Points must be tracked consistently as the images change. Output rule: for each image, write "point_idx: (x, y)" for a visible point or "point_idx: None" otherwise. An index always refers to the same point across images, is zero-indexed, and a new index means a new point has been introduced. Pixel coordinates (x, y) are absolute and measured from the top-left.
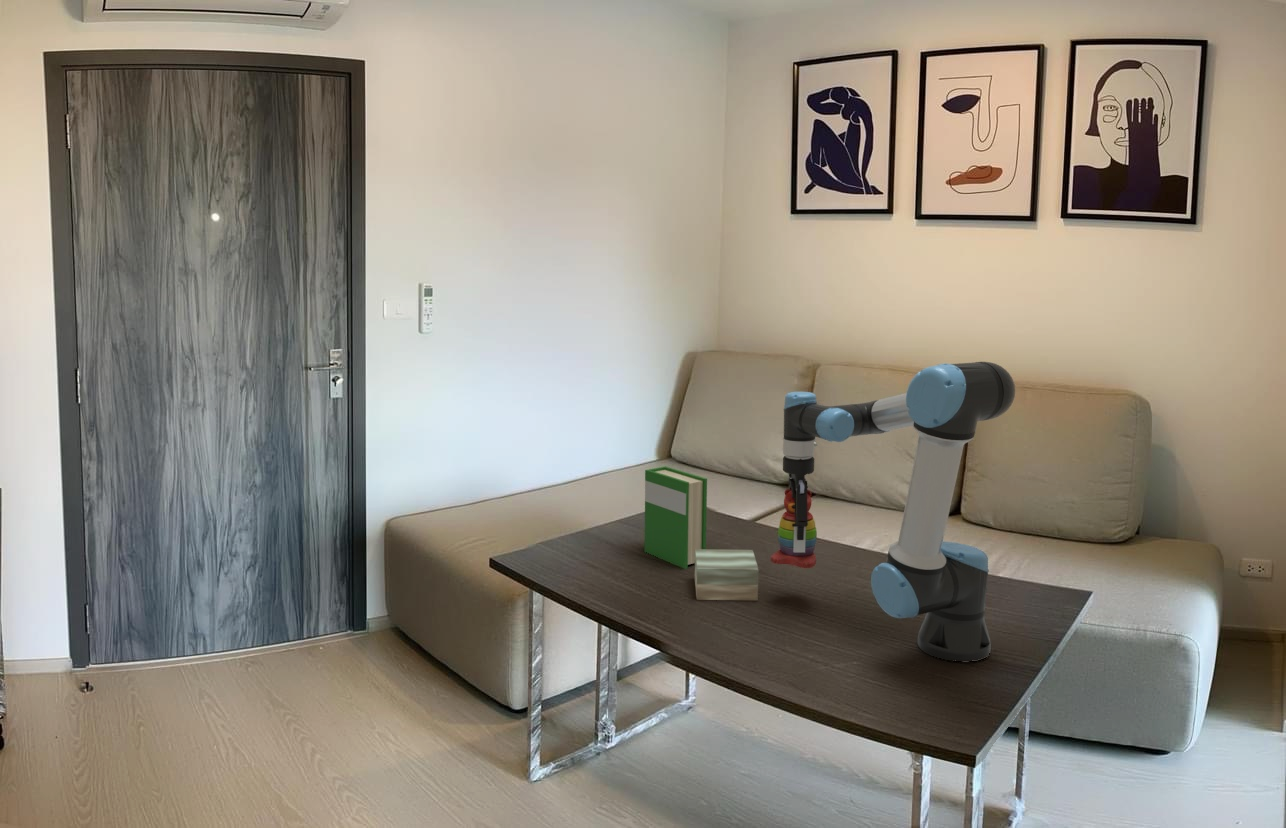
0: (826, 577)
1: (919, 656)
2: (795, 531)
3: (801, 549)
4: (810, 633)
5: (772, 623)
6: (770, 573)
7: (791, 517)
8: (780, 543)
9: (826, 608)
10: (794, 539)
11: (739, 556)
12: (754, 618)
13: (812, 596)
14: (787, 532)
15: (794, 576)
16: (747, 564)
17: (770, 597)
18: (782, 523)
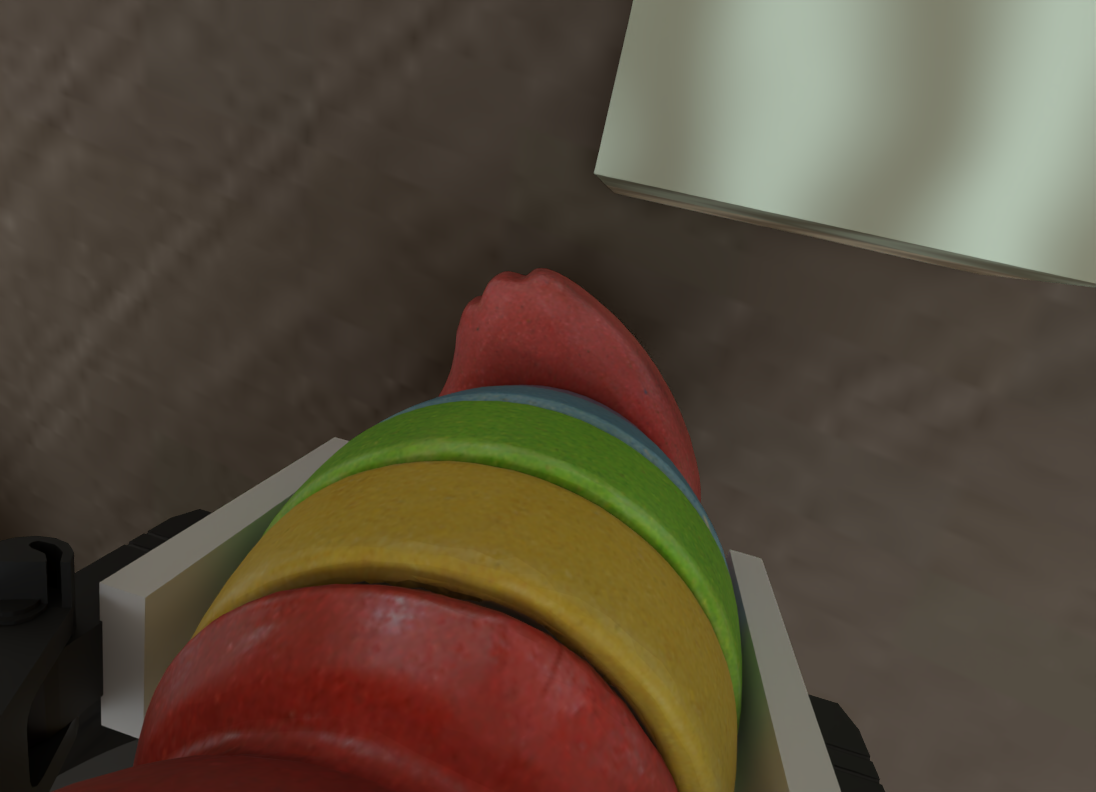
0: (848, 678)
1: None
2: (168, 551)
3: None
4: (205, 308)
5: (313, 172)
6: (1036, 428)
7: (180, 687)
8: (494, 386)
9: None
10: (252, 493)
11: (986, 96)
12: (379, 94)
13: None
14: (313, 477)
15: (925, 537)
16: (736, 111)
17: (644, 283)
18: (379, 498)
